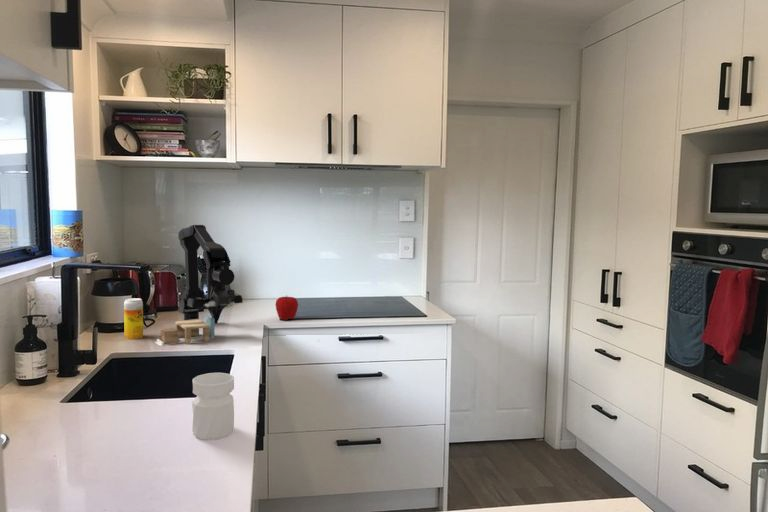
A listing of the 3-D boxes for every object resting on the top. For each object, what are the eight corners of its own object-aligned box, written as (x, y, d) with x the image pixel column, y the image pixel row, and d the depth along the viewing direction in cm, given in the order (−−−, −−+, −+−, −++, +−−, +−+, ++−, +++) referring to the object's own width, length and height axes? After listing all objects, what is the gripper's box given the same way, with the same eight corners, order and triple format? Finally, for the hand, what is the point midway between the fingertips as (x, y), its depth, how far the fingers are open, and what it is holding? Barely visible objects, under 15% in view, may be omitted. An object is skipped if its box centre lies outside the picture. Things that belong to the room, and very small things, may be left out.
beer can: (135, 343, 188) (135, 301, 187) (120, 342, 189) (120, 300, 188) (146, 339, 194) (146, 298, 193) (132, 338, 195) (131, 297, 194)
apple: (281, 323, 227) (281, 297, 226) (271, 319, 234) (271, 294, 233) (302, 320, 233) (302, 295, 232) (291, 316, 240) (291, 292, 239)
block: (160, 341, 186) (160, 328, 186) (173, 339, 189) (173, 327, 189) (164, 344, 183) (164, 331, 182) (177, 342, 185) (177, 329, 185)
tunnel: (175, 340, 193) (175, 321, 192) (197, 338, 198) (197, 318, 197) (186, 348, 184) (186, 327, 183) (209, 344, 189) (209, 324, 188)
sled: (154, 344, 186) (154, 322, 185) (208, 337, 198) (208, 316, 197) (159, 348, 181) (159, 325, 180) (214, 340, 193) (214, 319, 192)
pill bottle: (214, 420, 123) (214, 370, 122) (242, 429, 119) (242, 377, 118) (183, 434, 116) (183, 380, 115) (211, 444, 112) (211, 388, 110)
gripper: (197, 286, 182) (198, 331, 184) (248, 282, 194) (249, 324, 195) (186, 282, 191) (187, 325, 192) (236, 278, 203) (236, 319, 204)
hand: (215, 323), depth 196 cm, fingers closed
